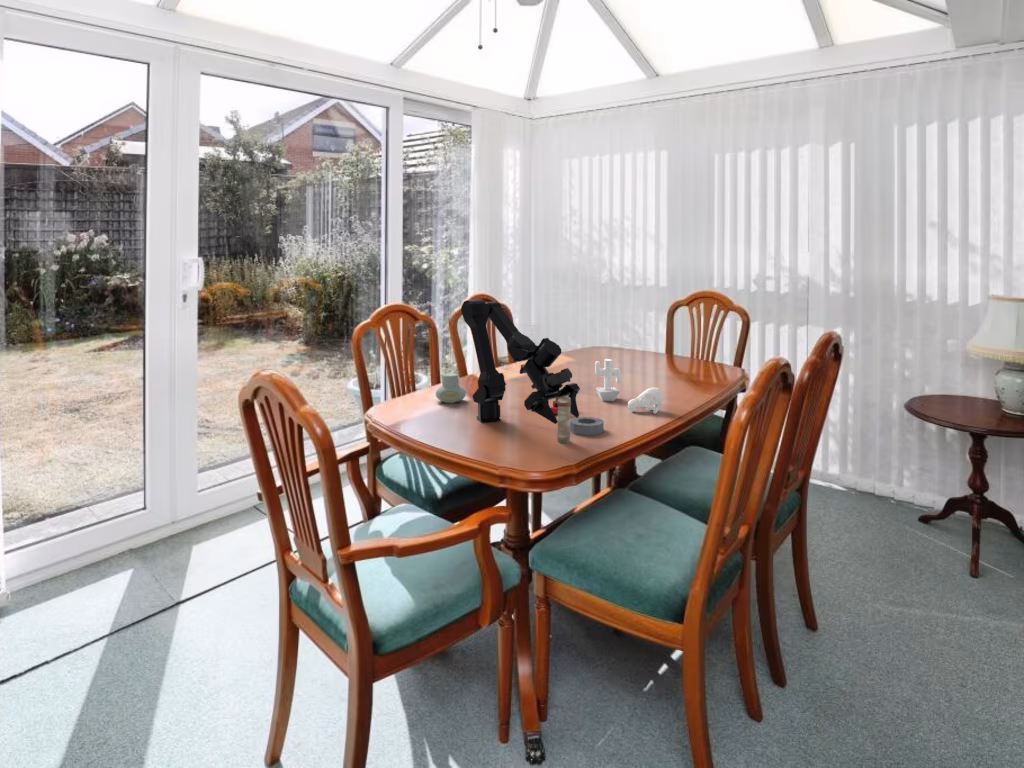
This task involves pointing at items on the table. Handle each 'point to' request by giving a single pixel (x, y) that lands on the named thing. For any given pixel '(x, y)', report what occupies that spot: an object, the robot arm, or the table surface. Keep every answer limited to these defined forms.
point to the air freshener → (450, 389)
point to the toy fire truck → (555, 406)
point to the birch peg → (563, 419)
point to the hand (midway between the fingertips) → (567, 419)
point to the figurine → (607, 380)
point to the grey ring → (586, 425)
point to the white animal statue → (647, 400)
